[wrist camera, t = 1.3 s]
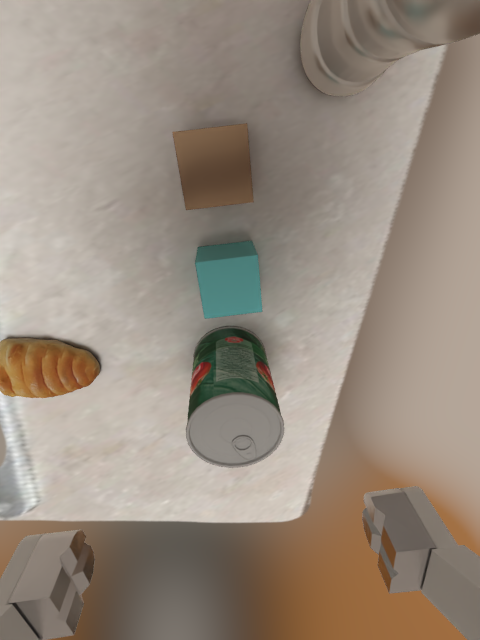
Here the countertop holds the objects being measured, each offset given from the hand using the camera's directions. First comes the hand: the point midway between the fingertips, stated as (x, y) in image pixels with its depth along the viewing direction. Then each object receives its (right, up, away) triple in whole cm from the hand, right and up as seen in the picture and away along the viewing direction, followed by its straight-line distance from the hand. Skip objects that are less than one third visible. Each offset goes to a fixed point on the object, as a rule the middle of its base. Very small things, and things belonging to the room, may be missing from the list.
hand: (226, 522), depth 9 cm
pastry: (-20, +2, +25) cm, 32 cm away
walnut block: (-2, +19, +18) cm, 26 cm away
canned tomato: (-1, +2, +27) cm, 27 cm away
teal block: (-1, +11, +22) cm, 24 cm away
